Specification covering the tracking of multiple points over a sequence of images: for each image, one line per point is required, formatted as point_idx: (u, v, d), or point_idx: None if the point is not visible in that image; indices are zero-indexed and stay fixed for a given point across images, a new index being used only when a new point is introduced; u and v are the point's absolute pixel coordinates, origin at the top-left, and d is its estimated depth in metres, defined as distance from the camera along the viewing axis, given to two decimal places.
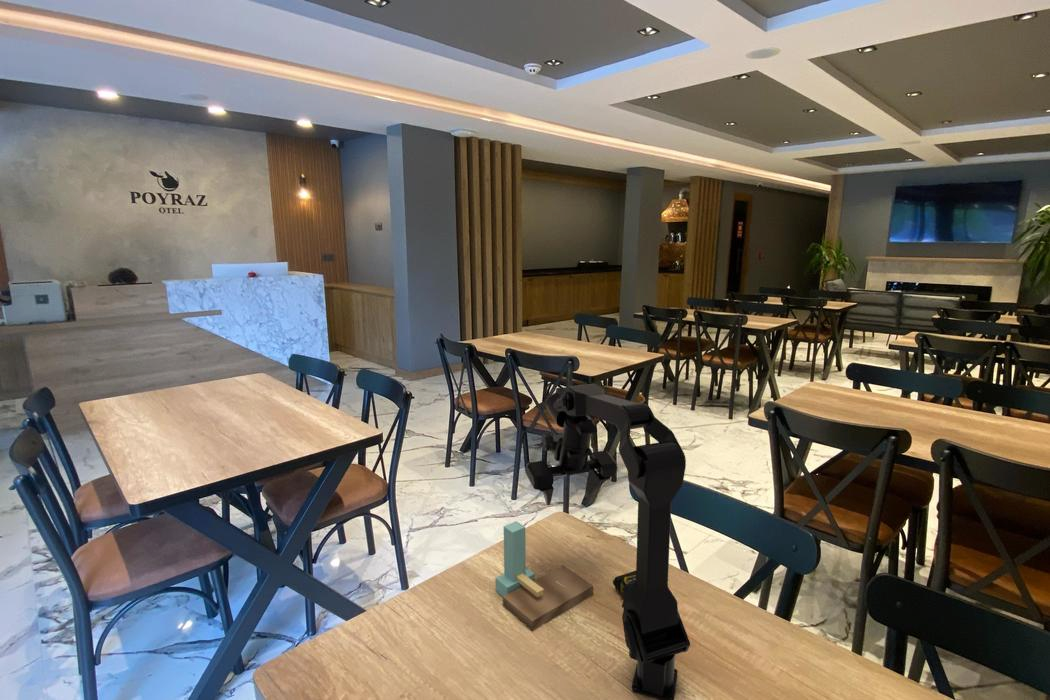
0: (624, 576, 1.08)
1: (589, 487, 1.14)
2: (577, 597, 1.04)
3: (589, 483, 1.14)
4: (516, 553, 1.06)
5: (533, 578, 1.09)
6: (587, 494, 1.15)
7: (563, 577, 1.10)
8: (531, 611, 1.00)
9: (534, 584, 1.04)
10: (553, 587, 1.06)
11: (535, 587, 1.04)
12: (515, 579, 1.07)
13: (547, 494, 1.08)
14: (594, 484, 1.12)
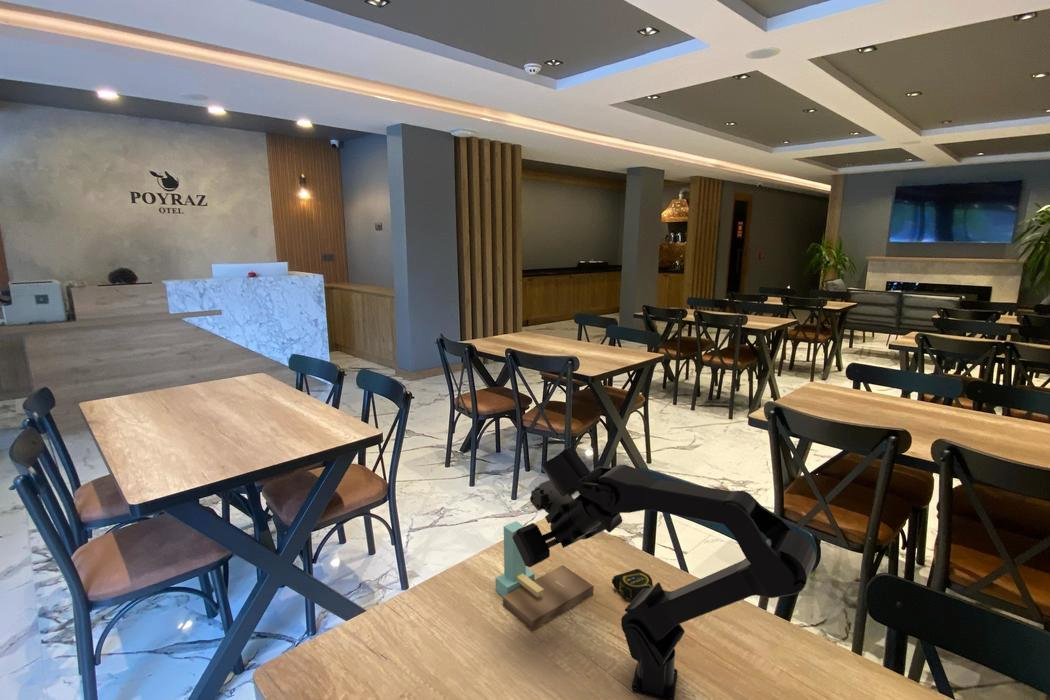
0: (623, 575, 1.08)
1: None
2: (577, 597, 1.04)
3: None
4: (516, 553, 1.06)
5: (533, 578, 1.09)
6: None
7: (563, 577, 1.10)
8: (531, 611, 1.00)
9: (534, 584, 1.04)
10: (553, 587, 1.06)
11: (535, 587, 1.04)
12: (515, 579, 1.07)
13: None
14: None
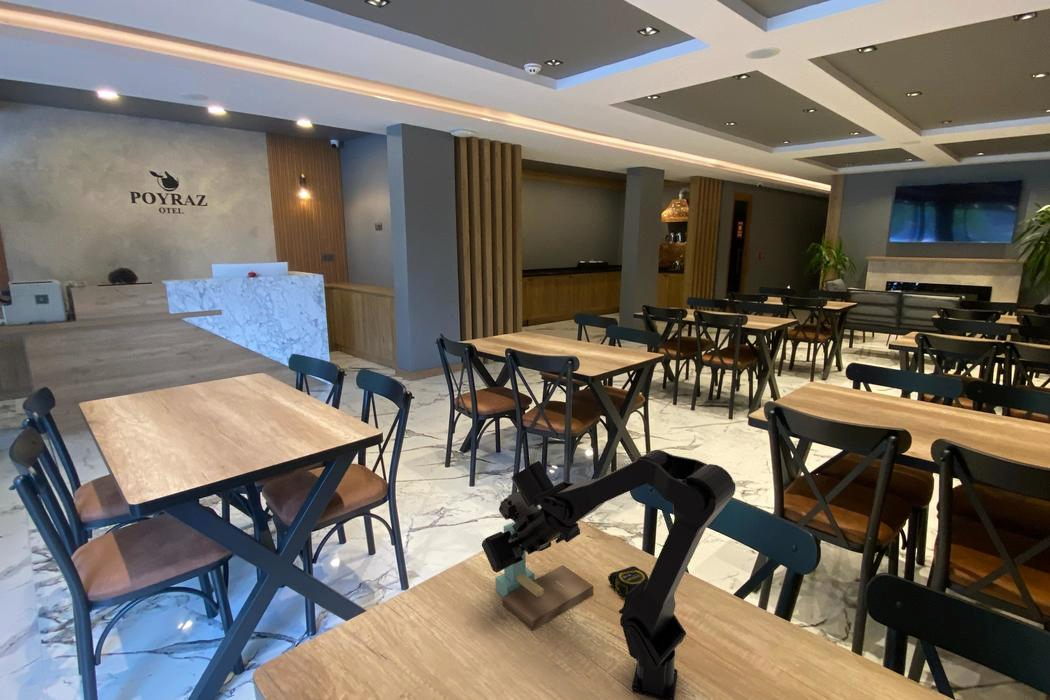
0: (619, 572, 1.09)
1: None
2: (577, 597, 1.04)
3: None
4: None
5: (533, 578, 1.09)
6: None
7: (563, 577, 1.10)
8: (531, 611, 1.00)
9: (534, 584, 1.04)
10: (553, 587, 1.06)
11: (535, 586, 1.04)
12: (515, 579, 1.07)
13: None
14: None
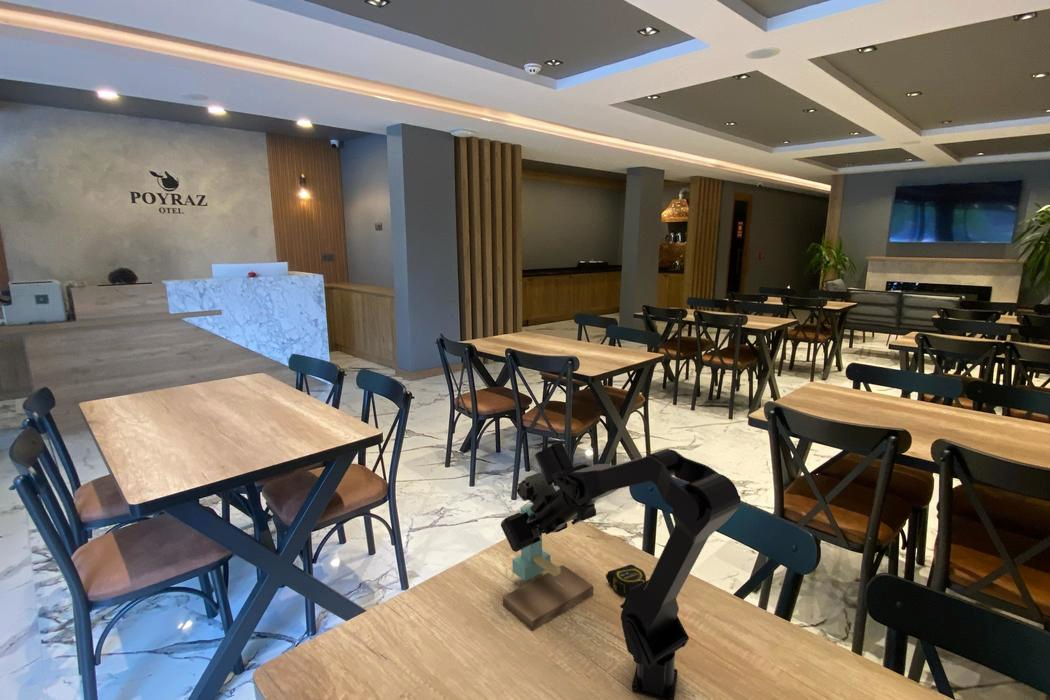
0: (617, 570, 1.09)
1: None
2: (577, 597, 1.04)
3: None
4: None
5: (549, 559, 1.12)
6: None
7: (563, 577, 1.10)
8: (531, 611, 1.00)
9: (551, 564, 1.07)
10: (553, 587, 1.06)
11: (552, 567, 1.06)
12: (532, 560, 1.09)
13: None
14: None
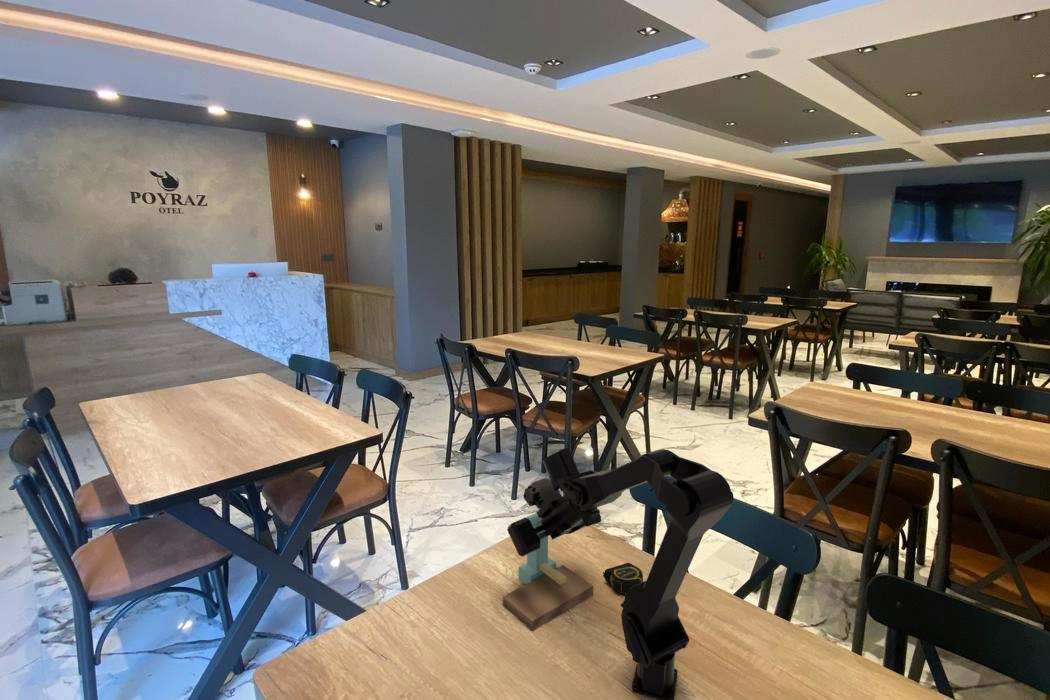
0: (614, 569, 1.10)
1: None
2: (577, 597, 1.04)
3: None
4: None
5: (554, 567, 1.13)
6: None
7: None
8: (531, 611, 1.00)
9: (557, 572, 1.08)
10: (553, 587, 1.06)
11: (558, 575, 1.07)
12: (538, 568, 1.11)
13: None
14: None
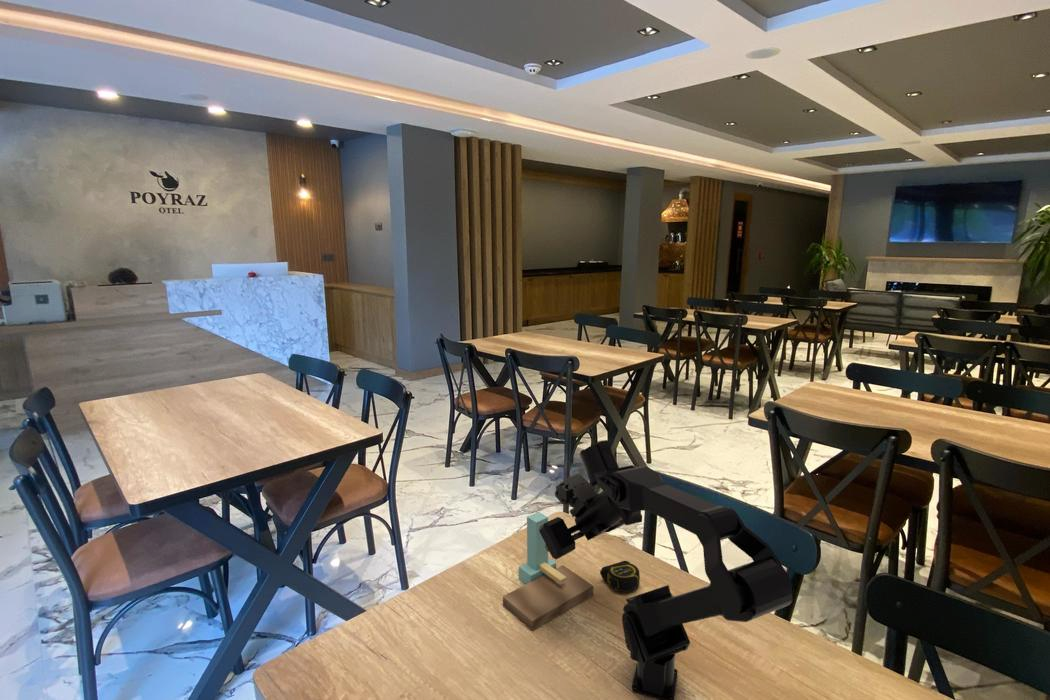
0: (611, 566, 1.11)
1: None
2: (577, 597, 1.04)
3: None
4: (539, 543, 1.10)
5: (554, 567, 1.13)
6: None
7: None
8: (531, 611, 1.00)
9: (557, 572, 1.08)
10: (553, 587, 1.06)
11: (558, 575, 1.07)
12: (538, 568, 1.11)
13: None
14: None
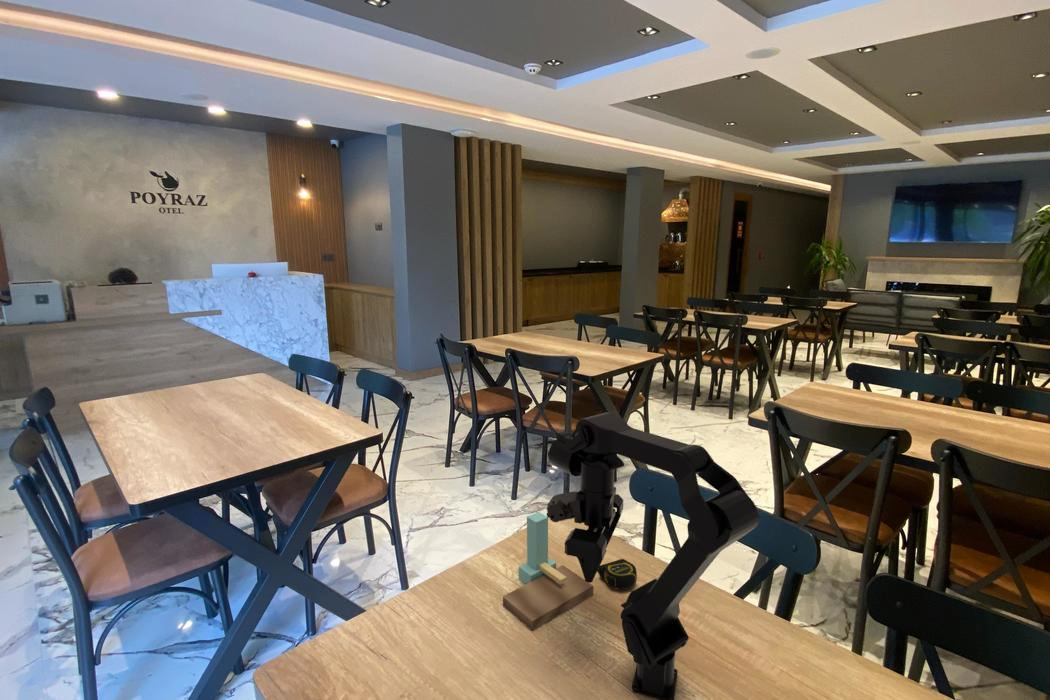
0: (608, 565, 1.11)
1: None
2: (577, 597, 1.04)
3: None
4: (539, 543, 1.10)
5: (554, 567, 1.13)
6: None
7: None
8: (531, 611, 1.00)
9: (557, 572, 1.08)
10: (553, 587, 1.06)
11: (558, 575, 1.07)
12: (538, 568, 1.11)
13: (600, 563, 0.88)
14: (611, 530, 0.98)
